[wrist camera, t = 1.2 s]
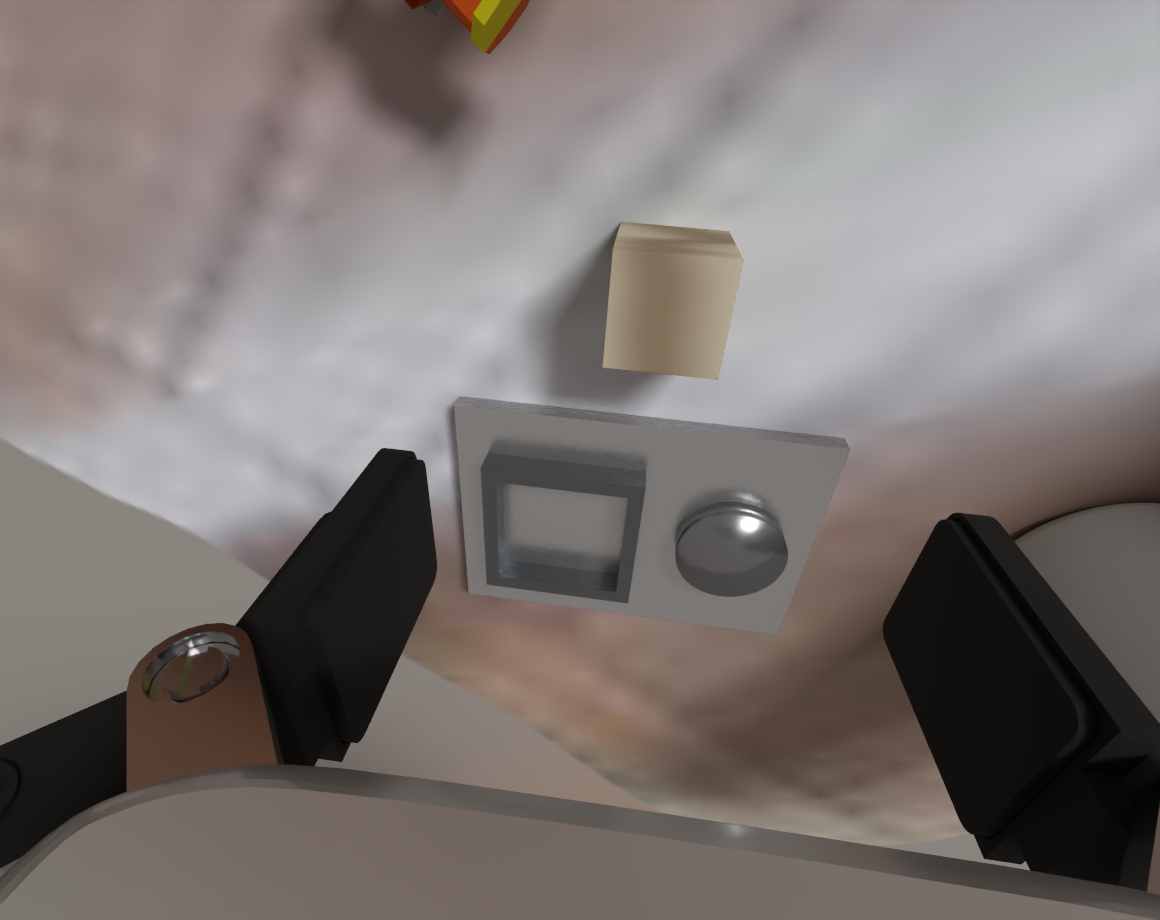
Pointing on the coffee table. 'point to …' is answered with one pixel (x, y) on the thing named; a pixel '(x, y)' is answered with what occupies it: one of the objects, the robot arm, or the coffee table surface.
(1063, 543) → the cylinder vase
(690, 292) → the block
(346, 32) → the coffee table surface
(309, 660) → the robot arm
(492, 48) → the yellow toy car
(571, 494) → the carrier plate
